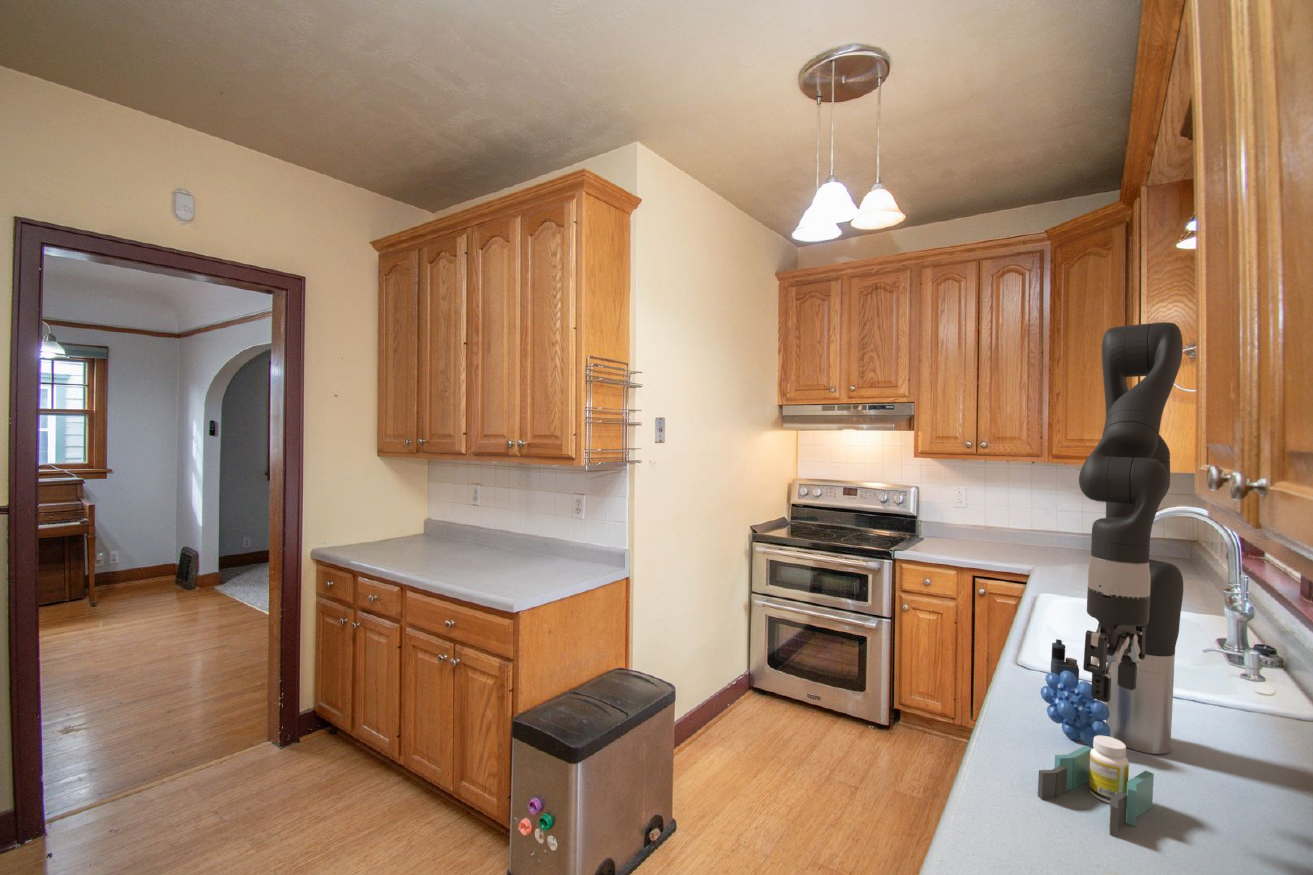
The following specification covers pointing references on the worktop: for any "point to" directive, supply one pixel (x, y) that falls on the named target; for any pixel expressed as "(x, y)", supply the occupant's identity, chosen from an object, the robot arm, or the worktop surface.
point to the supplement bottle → (1108, 768)
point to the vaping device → (1062, 660)
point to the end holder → (1136, 787)
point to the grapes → (1075, 707)
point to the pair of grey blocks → (1055, 786)
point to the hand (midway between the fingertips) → (1113, 693)
